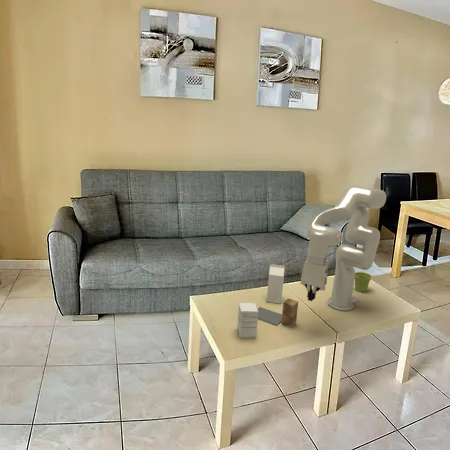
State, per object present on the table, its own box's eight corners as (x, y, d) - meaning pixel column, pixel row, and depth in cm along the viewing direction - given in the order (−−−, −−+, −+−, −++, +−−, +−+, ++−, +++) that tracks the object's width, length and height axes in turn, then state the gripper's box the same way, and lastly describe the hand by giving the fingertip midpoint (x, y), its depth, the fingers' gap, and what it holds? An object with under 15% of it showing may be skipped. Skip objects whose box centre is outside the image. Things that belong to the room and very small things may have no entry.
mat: (286, 316, 181) (286, 315, 181) (276, 325, 173) (276, 324, 172) (259, 307, 188) (259, 306, 188) (249, 316, 180) (249, 315, 180)
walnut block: (295, 323, 176) (298, 301, 173) (291, 328, 172) (294, 305, 168) (285, 319, 178) (288, 298, 175) (281, 324, 174) (283, 302, 171)
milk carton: (280, 304, 193) (284, 268, 187) (266, 302, 194) (269, 266, 189) (281, 297, 199) (285, 263, 194) (267, 295, 201) (270, 261, 195)
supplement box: (236, 328, 169) (238, 302, 165) (253, 328, 170) (255, 302, 166) (238, 338, 162) (240, 311, 158) (256, 338, 163) (258, 311, 159)
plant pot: (348, 289, 213) (350, 274, 211) (357, 284, 220) (359, 270, 217) (364, 295, 207) (366, 280, 204) (372, 290, 213) (375, 276, 211)
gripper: (336, 261, 160) (330, 301, 165) (302, 252, 168) (297, 291, 172) (331, 266, 154) (324, 308, 159) (296, 257, 161) (291, 297, 166)
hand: (310, 299), depth 165 cm, fingers closed
